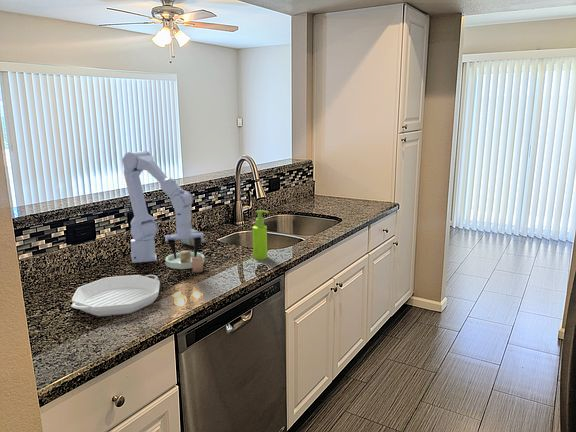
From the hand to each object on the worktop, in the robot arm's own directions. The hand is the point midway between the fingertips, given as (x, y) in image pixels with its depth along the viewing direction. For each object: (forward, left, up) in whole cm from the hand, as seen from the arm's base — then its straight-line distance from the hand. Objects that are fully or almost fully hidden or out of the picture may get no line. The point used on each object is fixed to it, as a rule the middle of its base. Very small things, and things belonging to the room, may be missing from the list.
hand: (185, 257), depth 177 cm
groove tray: (0, +4, -3) cm, 5 cm away
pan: (-23, -29, -4) cm, 37 cm away
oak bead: (0, 0, -3) cm, 3 cm away
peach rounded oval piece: (+4, -7, -3) cm, 9 cm away
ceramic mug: (+6, +30, -4) cm, 31 cm away
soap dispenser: (+31, +2, -4) cm, 31 cm away
